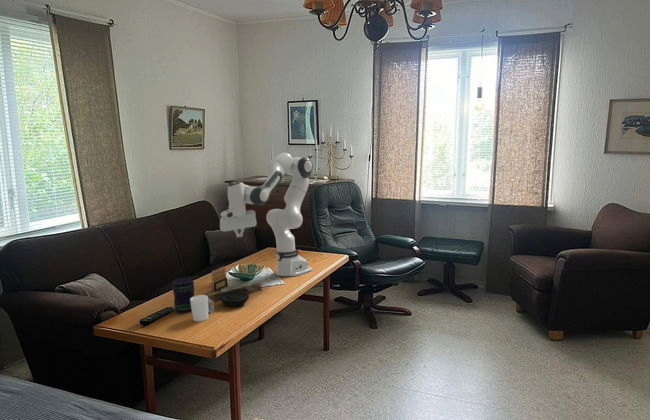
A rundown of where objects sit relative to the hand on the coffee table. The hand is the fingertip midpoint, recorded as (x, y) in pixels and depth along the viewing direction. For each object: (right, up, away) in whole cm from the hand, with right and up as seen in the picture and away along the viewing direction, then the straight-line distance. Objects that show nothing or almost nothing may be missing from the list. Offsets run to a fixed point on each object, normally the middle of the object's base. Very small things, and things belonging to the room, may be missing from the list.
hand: (239, 236), depth 241 cm
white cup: (-11, -36, -38) cm, 53 cm away
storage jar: (-21, -34, -26) cm, 48 cm away
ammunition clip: (-12, -29, +4) cm, 32 cm away
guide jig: (+2, -31, -16) cm, 35 cm away
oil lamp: (+2, -32, -19) cm, 37 cm away
